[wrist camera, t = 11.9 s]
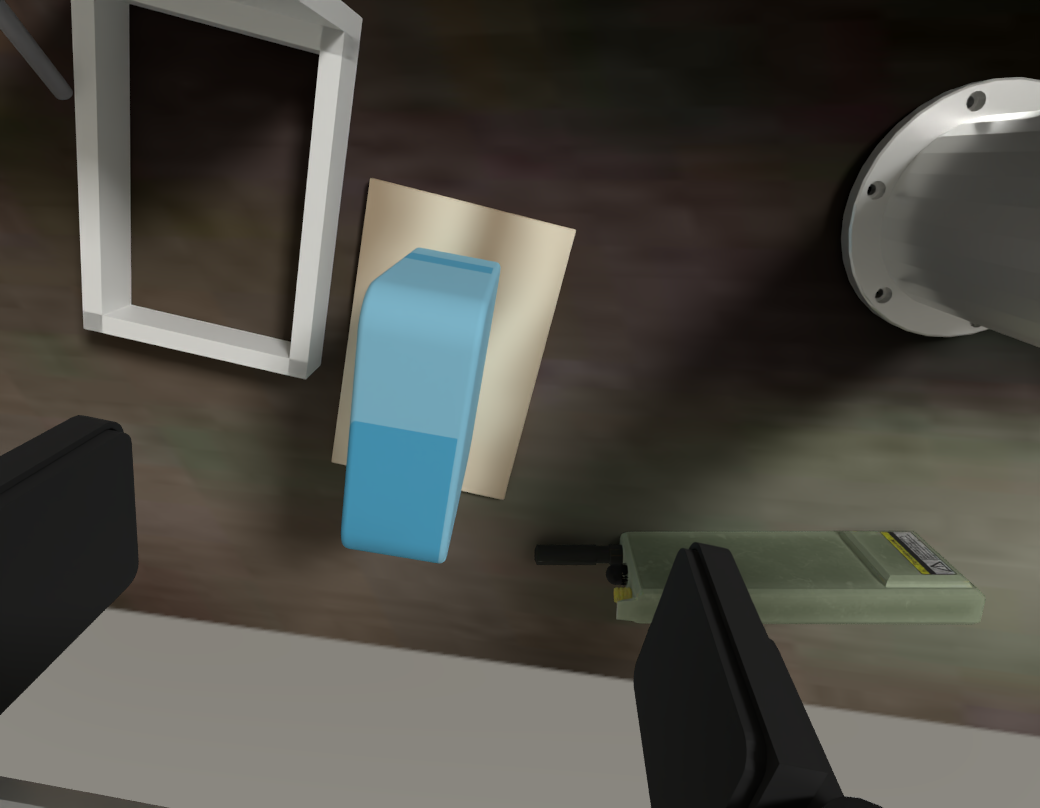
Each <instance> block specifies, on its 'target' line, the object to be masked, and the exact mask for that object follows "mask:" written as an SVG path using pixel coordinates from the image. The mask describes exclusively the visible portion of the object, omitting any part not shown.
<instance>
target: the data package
mask: <svg viewBox="0 0 1040 808" xmlns="http://www.w3.org/2000/svg"><path fill="white" fill-rule="evenodd" d="M500 269H501V267H500V264H499V263H497V262H493V261H488V260H483V259H478V258H472V257H467V256H462V255H457V254H451V253H446V252H441V251H436V250H430V249H425V248H416V249H414V250H413V251H412V252H411V253H409V254H408V255H407V256H405V257H404V258H403V259H401V260H400V261H399V262H397V263H396V264H395V265H393V266H392V267H391V268H389V269H388V270H387V271H385V272H384V273H383V274H381V275H380V276H379V277H377V278H376V279H375V280H373V281H372V282H371V284H370V285H369V287H368V289H367V291H366V293H365V296H364V299H363V303H362V307H361V311H360V316H359V323H358V332H357V344H356V356H355V368H354V380H353V392H352V404H351V416H350V428H349V440H348V452H347V464H346V476H345V488H344V500H343V512H342V524H341V540H342V544H343V545H344V546H345V547H346V548H349V549H355V550H361V551H367V552H373V553H379V554H385V555H391V556H397V557H403V558H409V559H415V560H422V561H428V562H434V563H443V562H444V561H445V560H446V557H447V553H448V549H449V544H450V539H451V535H452V530H453V526H454V521H455V517H456V512H457V508H458V503H459V498H460V494H461V489H462V485H463V480H464V476H465V471H466V467H467V462H468V457H469V452H470V447H471V441H472V436H473V430H474V424H475V418H476V412H477V406H478V400H479V394H480V389H481V383H482V377H483V371H484V365H485V359H486V353H487V347H488V342H489V336H490V330H491V324H492V318H493V312H494V306H495V300H496V295H497V289H498V283H499V276H500Z"/></svg>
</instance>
